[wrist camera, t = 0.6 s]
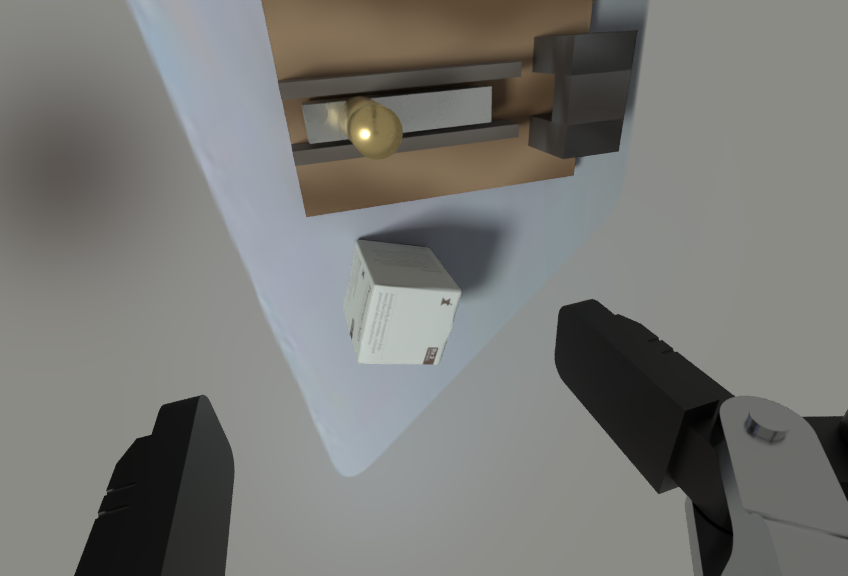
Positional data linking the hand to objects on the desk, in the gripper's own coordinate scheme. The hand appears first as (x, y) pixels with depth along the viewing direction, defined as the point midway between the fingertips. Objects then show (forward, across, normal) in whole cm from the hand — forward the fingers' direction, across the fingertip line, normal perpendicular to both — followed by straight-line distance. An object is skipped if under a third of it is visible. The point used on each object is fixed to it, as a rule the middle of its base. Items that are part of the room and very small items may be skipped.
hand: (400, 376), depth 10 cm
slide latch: (+20, -5, -3) cm, 21 cm away
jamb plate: (+22, -8, -2) cm, 24 cm away
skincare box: (+23, -3, +10) cm, 25 cm away
